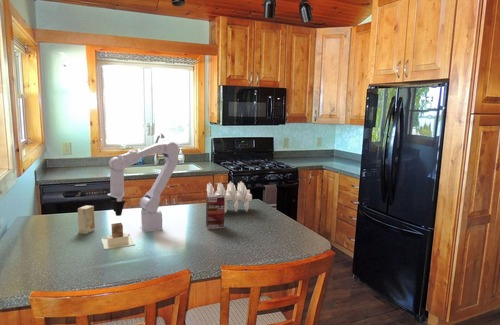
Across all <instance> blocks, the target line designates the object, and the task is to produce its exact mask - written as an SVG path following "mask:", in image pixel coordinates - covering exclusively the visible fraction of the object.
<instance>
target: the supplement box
mask: <svg viewBox="0 0 500 325" xmlns="http://www.w3.org/2000/svg"><path fill="white" fill-rule="evenodd" d="M205 198H206V199H205V200H206V201H205V227H206V229H207V230H215V229H225V211H224V209H225V197H224V196H223V195H214V196H208V195H206V196H205Z"/></svg>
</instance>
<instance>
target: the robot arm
mask: <svg viewBox="0 0 500 325" xmlns="http://www.w3.org/2000/svg"><path fill="white" fill-rule="evenodd" d="M156 153H159V154H162V155H163V158H164V160H165V163H164V164H163V165H162V168H161V170H160V172H159V173H158V175H157V177H156V179H155V181H154V183H153V184H152V186H151V188H150V189H149V190H148V191H147V192H145V194H144V196H143V197H141V198H140V199H139V201H138V202H139V206H140V208H141V210H140V212H141V213H140V215H141V216H140V218H141V220H140V221H141V226H140V227H139V229H140V231H141V232H142V233H146V232H152V231H153V232H154V231H163V213H162V211H161V210H158V209H159V205H160V203H161V195H162V193H163V191H164V189H165V187H166V185H167V184H168V182H169V181H170V178H171V177H172V174H173V172H174V171H175V169H176V167H177V165H178V163H179V153H180V148H179V145H178V144H177V143H176V142H173V141H168V140H163V141H160V142H159V141H158V142H156V143H154V144H152V145H150V146H147V147H145V148H143V149H141V150H139V151H136V150H132V149H130V150H128V152H127V153H123V154H119V155H118V157H117V156H113V157H111V158H110V159H109V160H108V164H107V165H108V167H109V170H110V171H109V172H110V173H109V176H110V177H109V180H110V182H109V183H110V186H109V187H110V193H107V196H108V197H109V199H110V201H111V205H112V210H113V212H114V213H115V216H116V217H119V216H120V217H121V216H122V215H123V208H124V205H125V203H126V199H123V197H124V196H125V187H124V186H125V182H124V181H125V173H124V170H125V168H127V167H130V166H132V165H134V164H137V163H139V162H140V161H141V160H142V158H146V157H148V156H150V155H153V154H156Z"/></svg>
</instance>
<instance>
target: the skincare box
mask: <svg viewBox="0 0 500 325" xmlns="http://www.w3.org/2000/svg"><path fill="white" fill-rule="evenodd" d="M77 220H78V221H77V222H78V226H77V227H78V228H77V229H78V234H85V235H87V234H90V233H91V232H95V228H96V227H95V205H86V204H85V205H83V206H81V207H78V208H77Z"/></svg>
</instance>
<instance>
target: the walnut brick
mask: <svg viewBox="0 0 500 325" xmlns="http://www.w3.org/2000/svg"><path fill="white" fill-rule="evenodd" d="M123 234H124V226H123V223H122V222H117V223H116V222H115V223H111V235H112V237H113V238H118V237H123Z"/></svg>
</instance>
